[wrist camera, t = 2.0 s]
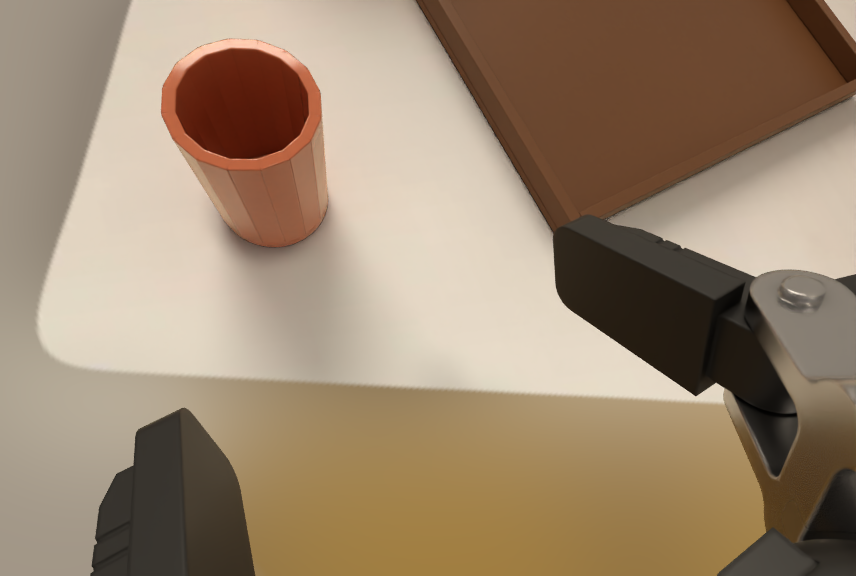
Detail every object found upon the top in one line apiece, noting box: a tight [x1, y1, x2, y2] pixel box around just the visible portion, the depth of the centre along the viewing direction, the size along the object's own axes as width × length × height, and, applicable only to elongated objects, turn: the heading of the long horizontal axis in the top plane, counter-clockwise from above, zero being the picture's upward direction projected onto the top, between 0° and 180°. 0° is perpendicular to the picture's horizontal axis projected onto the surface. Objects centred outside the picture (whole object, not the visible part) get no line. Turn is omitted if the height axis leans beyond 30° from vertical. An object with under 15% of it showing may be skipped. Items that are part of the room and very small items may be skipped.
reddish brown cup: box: [161, 39, 328, 247], centre depth 22 cm, size 6×6×8 cm
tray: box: [417, 0, 856, 232], centre depth 33 cm, size 30×21×2 cm
